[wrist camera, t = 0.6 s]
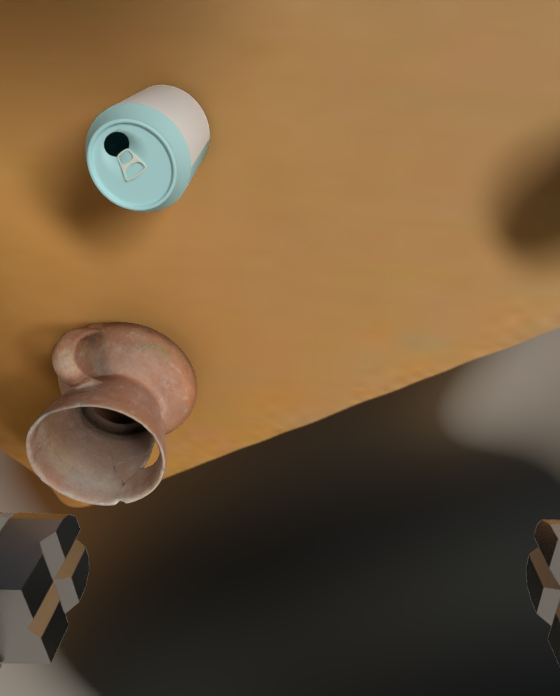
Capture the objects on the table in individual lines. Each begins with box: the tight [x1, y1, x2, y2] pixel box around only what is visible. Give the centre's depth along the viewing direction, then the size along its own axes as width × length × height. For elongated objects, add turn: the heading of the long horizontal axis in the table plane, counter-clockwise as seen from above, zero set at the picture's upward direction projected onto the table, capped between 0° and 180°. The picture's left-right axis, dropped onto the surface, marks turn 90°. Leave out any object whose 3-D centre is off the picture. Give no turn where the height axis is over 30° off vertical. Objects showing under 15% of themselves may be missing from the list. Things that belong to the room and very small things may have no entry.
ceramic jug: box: [26, 322, 197, 506], centre depth 50 cm, size 18×14×14 cm
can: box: [85, 85, 210, 212], centre depth 37 cm, size 7×7×12 cm
